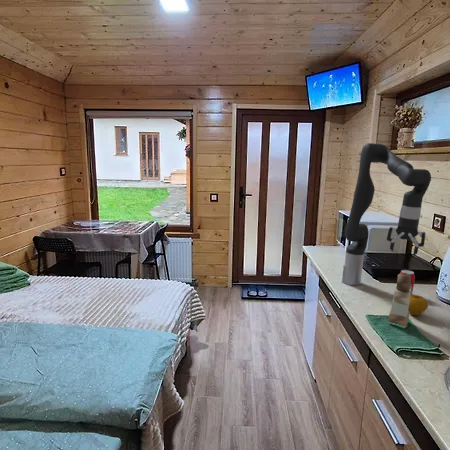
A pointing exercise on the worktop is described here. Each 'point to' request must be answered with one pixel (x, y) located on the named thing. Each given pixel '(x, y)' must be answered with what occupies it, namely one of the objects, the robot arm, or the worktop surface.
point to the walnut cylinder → (403, 282)
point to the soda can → (411, 278)
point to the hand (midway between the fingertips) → (403, 252)
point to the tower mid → (399, 309)
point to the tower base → (398, 319)
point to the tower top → (401, 297)
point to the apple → (417, 305)
